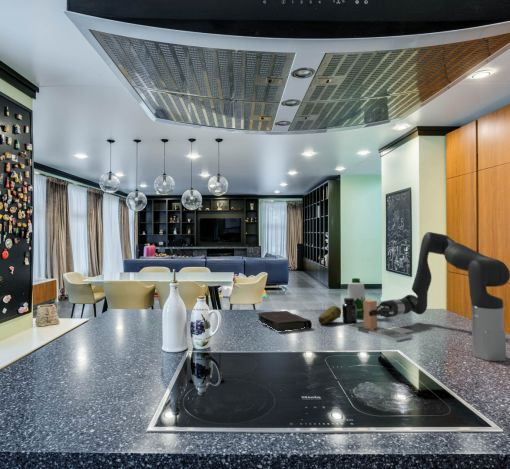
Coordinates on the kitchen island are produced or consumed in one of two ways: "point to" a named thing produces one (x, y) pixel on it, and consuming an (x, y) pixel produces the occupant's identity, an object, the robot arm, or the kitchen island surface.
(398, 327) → the pad
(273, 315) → the diary
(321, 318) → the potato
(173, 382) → the kitchen island surface
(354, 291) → the green and white bottle
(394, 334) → the grey slotted base
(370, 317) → the block
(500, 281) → the robot arm
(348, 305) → the supplement bottle
